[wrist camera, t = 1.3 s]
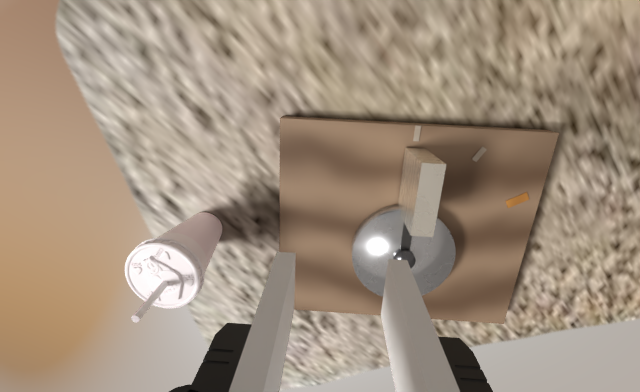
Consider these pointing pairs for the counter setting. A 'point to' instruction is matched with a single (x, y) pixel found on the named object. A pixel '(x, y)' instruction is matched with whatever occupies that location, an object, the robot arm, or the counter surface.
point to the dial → (408, 229)
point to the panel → (383, 190)
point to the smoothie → (173, 263)
